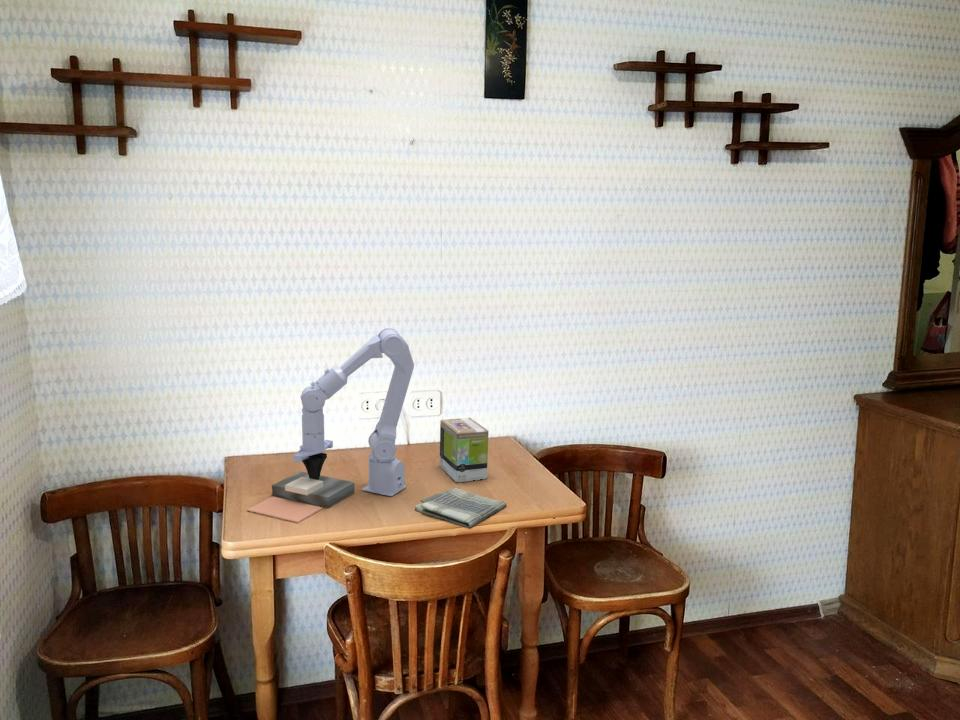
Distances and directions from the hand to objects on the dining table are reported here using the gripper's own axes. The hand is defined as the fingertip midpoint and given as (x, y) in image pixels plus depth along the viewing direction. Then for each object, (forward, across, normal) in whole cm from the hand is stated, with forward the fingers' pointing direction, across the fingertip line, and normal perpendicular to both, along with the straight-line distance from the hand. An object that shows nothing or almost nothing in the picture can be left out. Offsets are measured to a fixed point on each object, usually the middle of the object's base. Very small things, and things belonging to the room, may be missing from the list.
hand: (314, 480), depth 206 cm
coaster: (+1, +4, 0) cm, 4 cm away
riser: (+4, 0, 0) cm, 4 cm away
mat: (+4, +12, 0) cm, 13 cm away
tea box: (+4, -34, +28) cm, 44 cm away
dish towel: (+5, -10, +39) cm, 40 cm away
